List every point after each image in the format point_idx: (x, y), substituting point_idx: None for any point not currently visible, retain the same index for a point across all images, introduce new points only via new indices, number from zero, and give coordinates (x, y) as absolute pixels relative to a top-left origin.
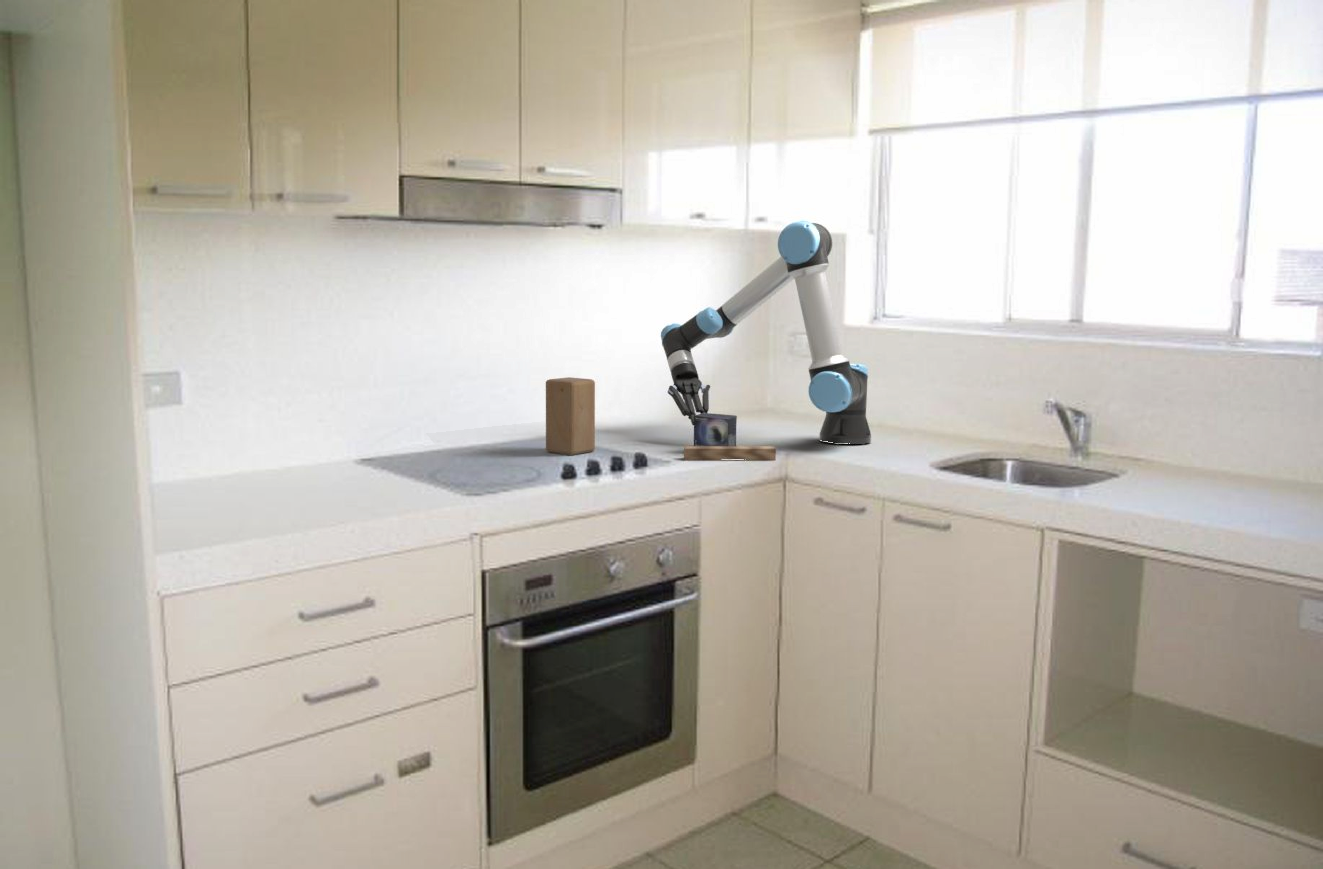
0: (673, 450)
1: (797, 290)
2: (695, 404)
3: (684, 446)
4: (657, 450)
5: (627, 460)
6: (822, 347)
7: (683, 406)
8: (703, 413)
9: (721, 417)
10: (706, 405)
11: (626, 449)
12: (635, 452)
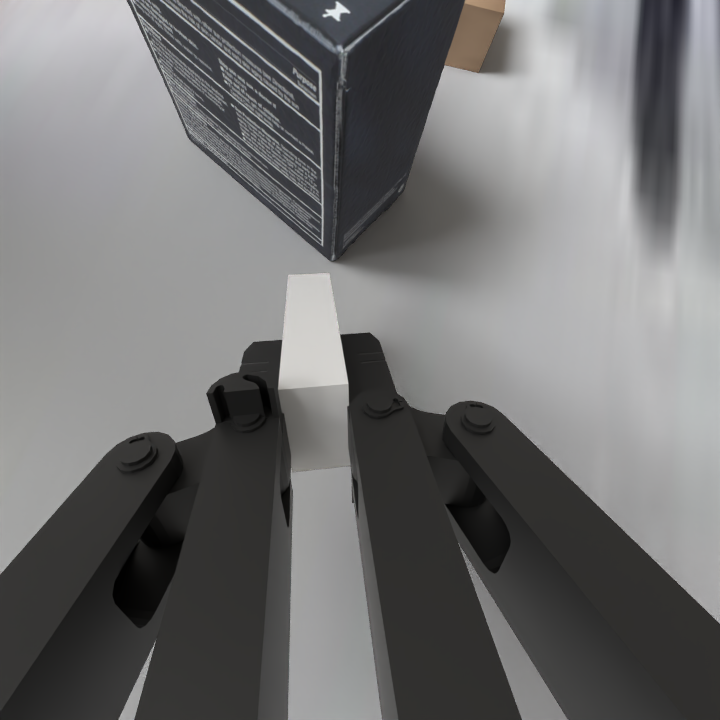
0: (489, 268)
1: None
2: (279, 656)
3: (503, 6)
4: (567, 283)
5: (709, 74)
6: None
7: (539, 463)
8: (356, 2)
9: None
10: (91, 522)
11: (712, 341)
12: (673, 248)
